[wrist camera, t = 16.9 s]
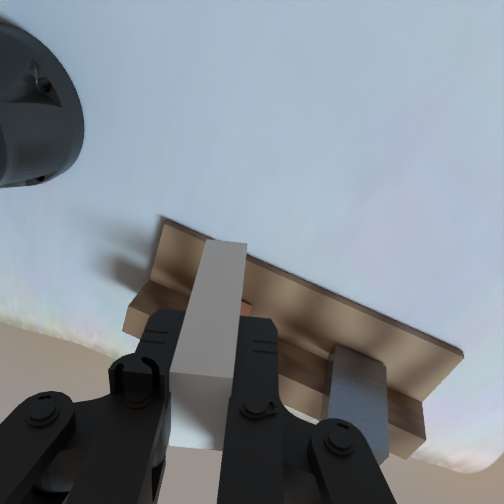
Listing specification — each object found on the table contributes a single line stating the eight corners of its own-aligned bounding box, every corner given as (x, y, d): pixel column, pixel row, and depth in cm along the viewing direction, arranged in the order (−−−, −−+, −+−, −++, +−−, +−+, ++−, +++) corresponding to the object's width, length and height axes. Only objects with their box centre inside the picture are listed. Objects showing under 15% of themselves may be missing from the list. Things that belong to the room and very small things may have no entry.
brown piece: (146, 299, 52) (122, 331, 47) (168, 219, 46) (142, 247, 41) (402, 414, 52) (405, 459, 47) (462, 351, 45) (473, 395, 40)
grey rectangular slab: (328, 355, 48) (317, 439, 39) (335, 343, 47) (326, 427, 38) (377, 377, 48) (377, 467, 39) (386, 366, 47) (389, 455, 38)
